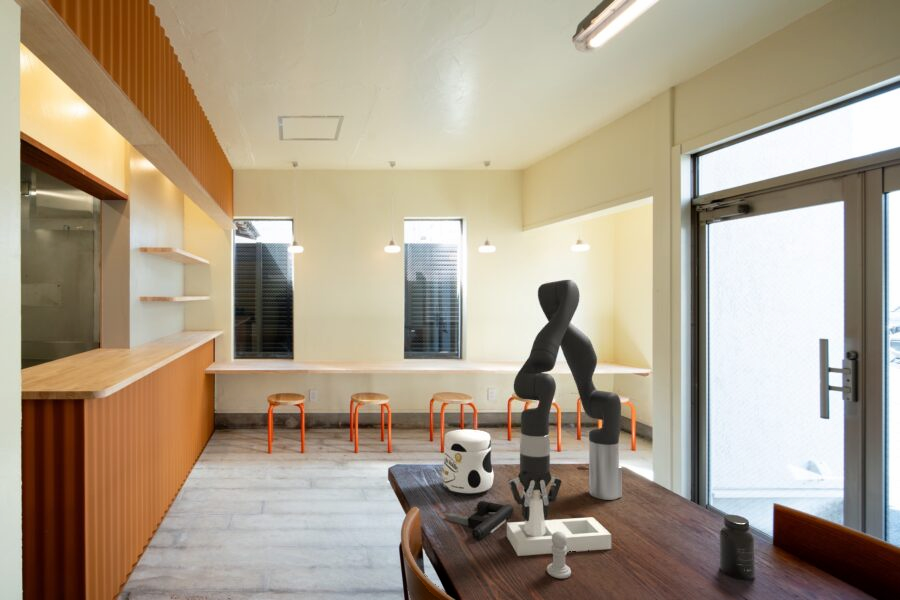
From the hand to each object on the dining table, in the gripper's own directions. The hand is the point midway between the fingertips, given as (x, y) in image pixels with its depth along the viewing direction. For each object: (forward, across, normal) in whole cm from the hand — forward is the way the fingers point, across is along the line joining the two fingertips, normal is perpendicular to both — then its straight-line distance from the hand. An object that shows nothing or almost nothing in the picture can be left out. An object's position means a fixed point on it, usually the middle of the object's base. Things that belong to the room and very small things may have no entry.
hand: (534, 519), depth 117 cm
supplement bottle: (+6, -41, +19) cm, 46 cm away
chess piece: (+6, -1, +14) cm, 15 cm away
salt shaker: (+3, 0, 0) cm, 3 cm away
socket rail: (+6, -6, 0) cm, 9 cm away
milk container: (+6, +10, -39) cm, 41 cm away
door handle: (+7, +12, -15) cm, 20 cm away
